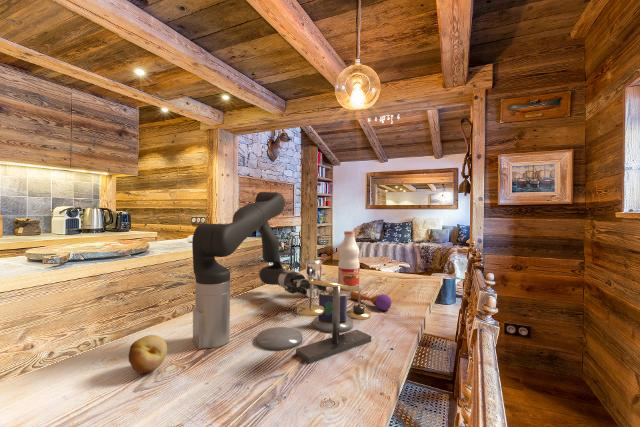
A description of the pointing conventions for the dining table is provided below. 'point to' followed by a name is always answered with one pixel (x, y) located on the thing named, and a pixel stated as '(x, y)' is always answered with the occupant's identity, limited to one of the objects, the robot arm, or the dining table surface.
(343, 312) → the flask
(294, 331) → the gray domed disc
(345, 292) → the fruit juice
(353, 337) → the balance
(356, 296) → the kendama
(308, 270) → the beer glass
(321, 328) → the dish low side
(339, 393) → the dining table surface
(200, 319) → the robot arm
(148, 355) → the fruit
